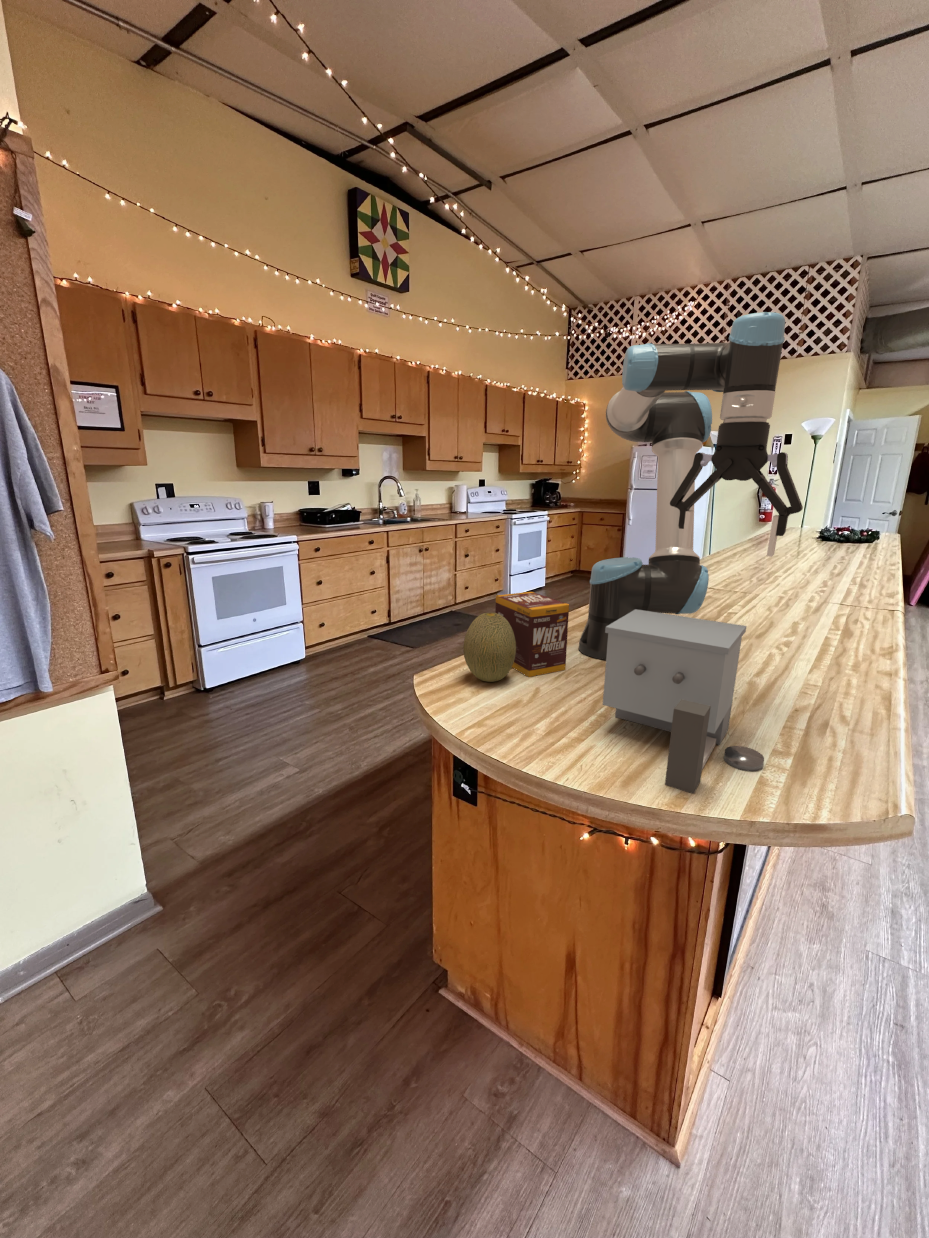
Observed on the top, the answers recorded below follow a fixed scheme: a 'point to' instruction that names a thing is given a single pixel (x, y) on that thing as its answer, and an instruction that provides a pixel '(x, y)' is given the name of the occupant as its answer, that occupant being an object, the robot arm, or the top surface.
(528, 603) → the supplement box
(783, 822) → the top surface
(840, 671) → the top surface
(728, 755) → the steel puck
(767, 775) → the top surface
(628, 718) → the cabinet
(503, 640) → the fruit
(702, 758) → the scraper
